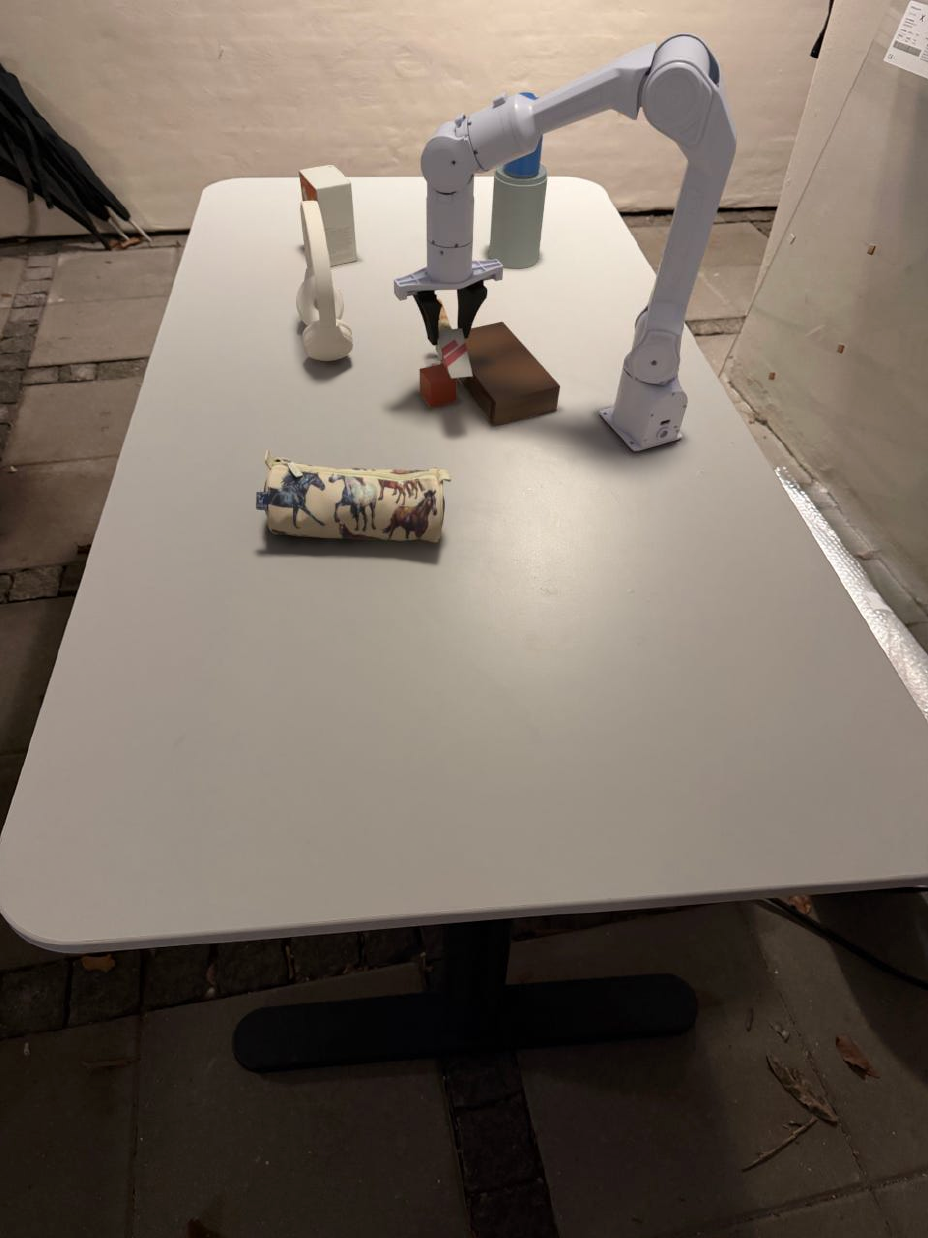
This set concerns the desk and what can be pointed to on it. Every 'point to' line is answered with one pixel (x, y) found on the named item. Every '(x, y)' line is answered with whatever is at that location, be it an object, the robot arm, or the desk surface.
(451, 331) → the paintbrush
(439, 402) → the block
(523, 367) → the cabinet
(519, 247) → the spray bottle
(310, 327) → the headphones
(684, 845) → the desk surface
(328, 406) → the desk surface
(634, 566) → the desk surface
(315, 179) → the small box
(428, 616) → the desk surface
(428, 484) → the pencil case
